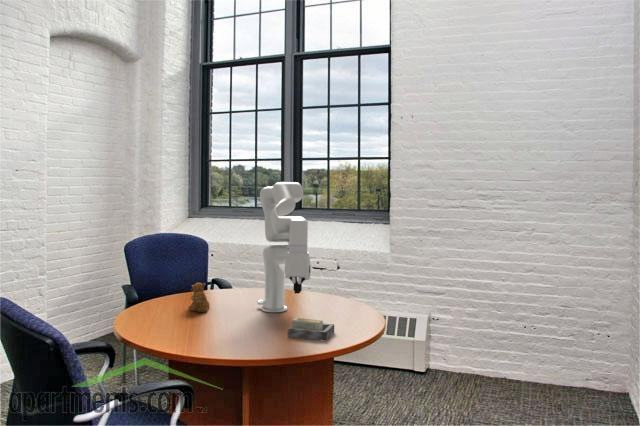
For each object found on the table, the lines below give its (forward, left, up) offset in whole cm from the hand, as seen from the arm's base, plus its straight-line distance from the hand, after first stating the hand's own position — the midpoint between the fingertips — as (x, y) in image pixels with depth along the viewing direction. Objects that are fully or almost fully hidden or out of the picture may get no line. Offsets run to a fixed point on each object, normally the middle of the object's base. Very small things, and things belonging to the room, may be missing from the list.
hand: (297, 292), depth 214 cm
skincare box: (-2, -1, -14) cm, 14 cm away
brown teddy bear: (-57, +19, -17) cm, 62 cm away
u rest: (+6, 0, -17) cm, 18 cm away
